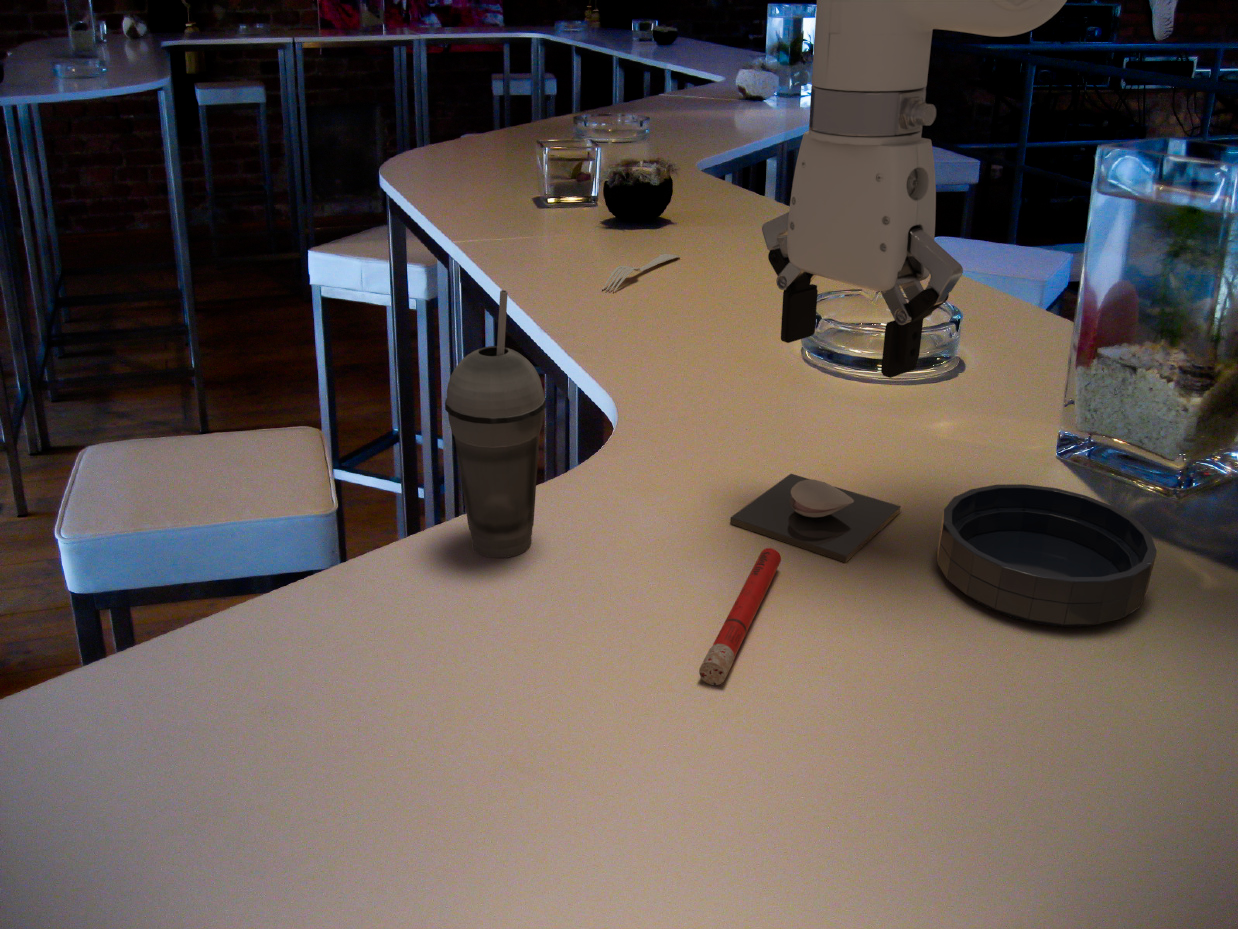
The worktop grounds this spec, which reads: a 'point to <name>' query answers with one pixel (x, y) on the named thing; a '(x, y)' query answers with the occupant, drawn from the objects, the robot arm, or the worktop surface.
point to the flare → (739, 619)
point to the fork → (636, 269)
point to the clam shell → (817, 498)
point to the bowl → (1045, 554)
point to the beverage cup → (497, 442)
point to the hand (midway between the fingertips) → (845, 354)
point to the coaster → (816, 521)
